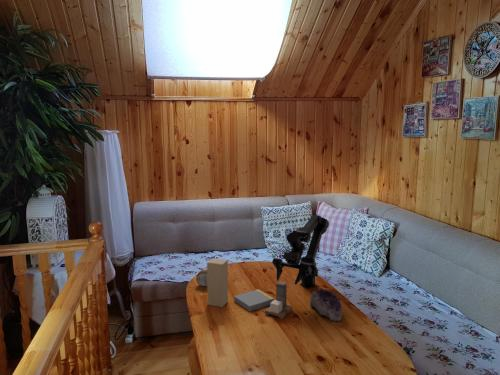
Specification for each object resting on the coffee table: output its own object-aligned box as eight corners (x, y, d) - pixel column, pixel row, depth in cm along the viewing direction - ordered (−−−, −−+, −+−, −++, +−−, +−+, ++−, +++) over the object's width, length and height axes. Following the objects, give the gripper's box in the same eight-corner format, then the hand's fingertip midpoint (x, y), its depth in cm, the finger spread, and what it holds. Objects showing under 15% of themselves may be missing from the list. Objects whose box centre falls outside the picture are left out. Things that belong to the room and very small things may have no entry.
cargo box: (274, 308, 185) (274, 299, 184) (282, 310, 183) (282, 301, 182) (270, 311, 181) (270, 303, 181) (278, 313, 179) (278, 305, 179)
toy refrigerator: (228, 300, 196) (228, 259, 193) (222, 307, 190) (222, 264, 186) (213, 298, 199) (212, 257, 196) (207, 304, 192) (206, 262, 189)
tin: (225, 285, 215) (225, 270, 213) (224, 288, 212) (224, 272, 210) (197, 284, 216) (196, 269, 215) (195, 286, 213) (195, 271, 212)
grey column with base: (274, 305, 191) (275, 279, 189) (292, 310, 187) (292, 283, 184) (264, 314, 183) (264, 287, 180) (282, 319, 178) (283, 291, 176)
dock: (258, 294, 204) (258, 289, 203) (273, 303, 193) (273, 298, 193) (234, 301, 196) (234, 296, 196) (249, 311, 186) (249, 306, 185)
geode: (352, 319, 178) (351, 299, 175) (329, 327, 174) (328, 306, 172) (328, 299, 197) (327, 280, 194) (307, 305, 193) (305, 286, 191)
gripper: (273, 241, 196) (262, 270, 188) (310, 247, 186) (300, 278, 179) (280, 253, 204) (270, 281, 196) (316, 259, 194) (306, 289, 186)
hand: (286, 282), depth 189 cm, fingers open, 9 cm apart
